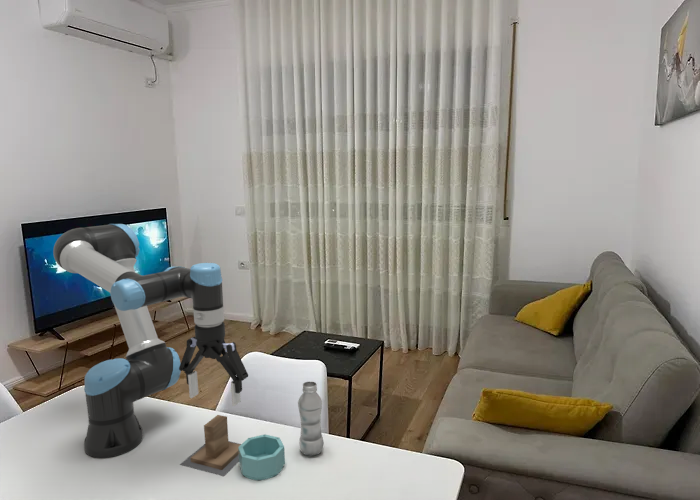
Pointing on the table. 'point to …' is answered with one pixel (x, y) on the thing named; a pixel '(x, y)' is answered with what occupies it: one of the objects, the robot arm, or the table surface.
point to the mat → (210, 469)
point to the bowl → (261, 457)
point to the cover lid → (216, 445)
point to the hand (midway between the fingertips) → (214, 399)
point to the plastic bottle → (310, 420)
